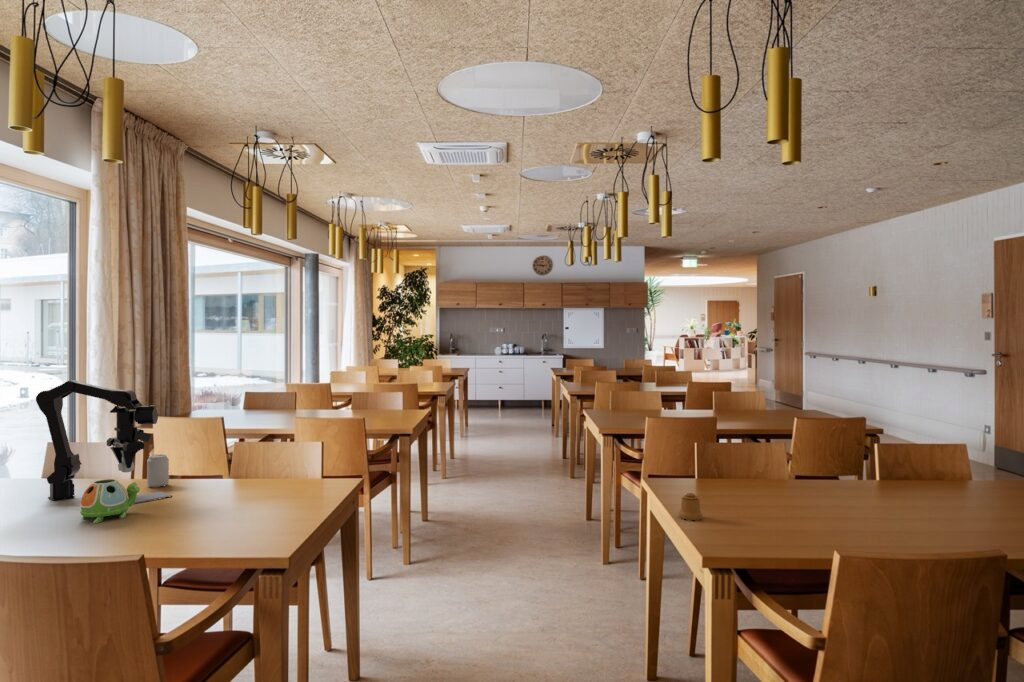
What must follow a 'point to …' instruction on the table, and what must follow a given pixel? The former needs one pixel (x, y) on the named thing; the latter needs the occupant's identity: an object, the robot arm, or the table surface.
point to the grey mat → (150, 496)
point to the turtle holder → (107, 499)
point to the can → (157, 470)
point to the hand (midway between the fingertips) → (125, 467)
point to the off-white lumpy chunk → (125, 467)
